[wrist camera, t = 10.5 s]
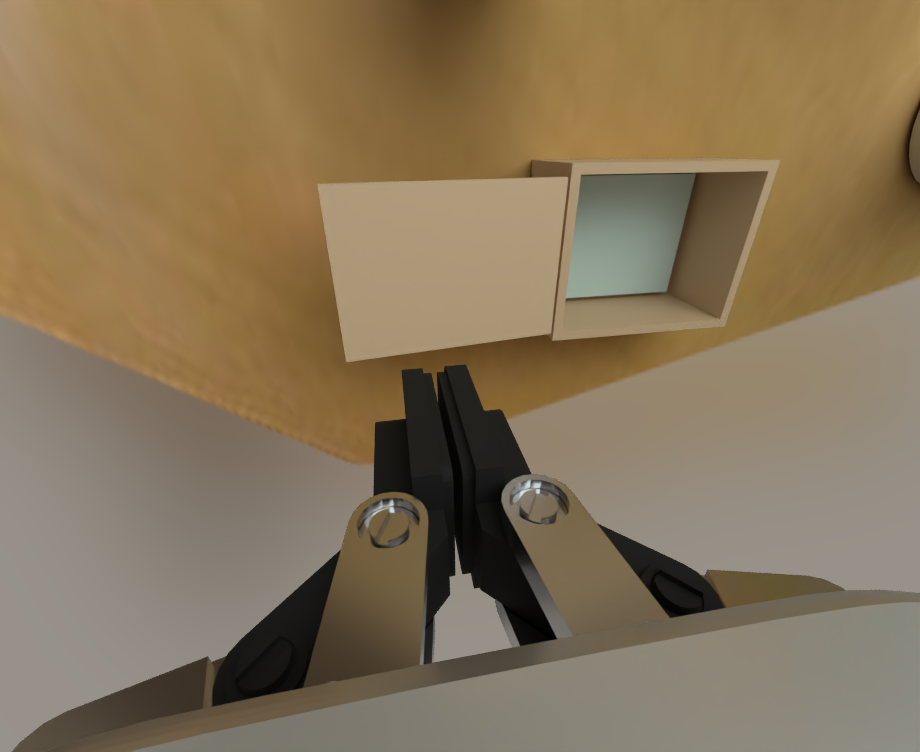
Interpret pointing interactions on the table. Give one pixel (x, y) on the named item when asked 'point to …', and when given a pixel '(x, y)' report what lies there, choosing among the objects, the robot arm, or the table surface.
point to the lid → (442, 261)
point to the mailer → (653, 241)
